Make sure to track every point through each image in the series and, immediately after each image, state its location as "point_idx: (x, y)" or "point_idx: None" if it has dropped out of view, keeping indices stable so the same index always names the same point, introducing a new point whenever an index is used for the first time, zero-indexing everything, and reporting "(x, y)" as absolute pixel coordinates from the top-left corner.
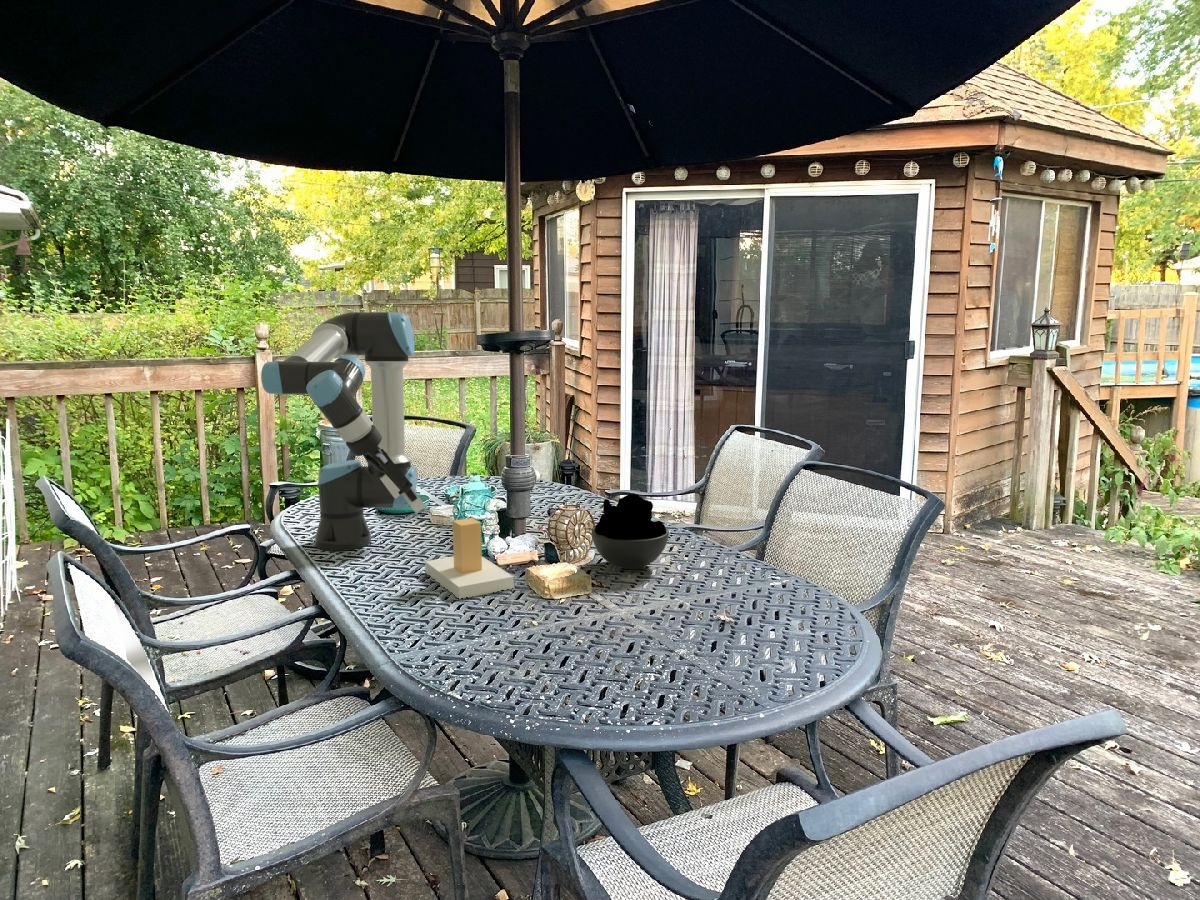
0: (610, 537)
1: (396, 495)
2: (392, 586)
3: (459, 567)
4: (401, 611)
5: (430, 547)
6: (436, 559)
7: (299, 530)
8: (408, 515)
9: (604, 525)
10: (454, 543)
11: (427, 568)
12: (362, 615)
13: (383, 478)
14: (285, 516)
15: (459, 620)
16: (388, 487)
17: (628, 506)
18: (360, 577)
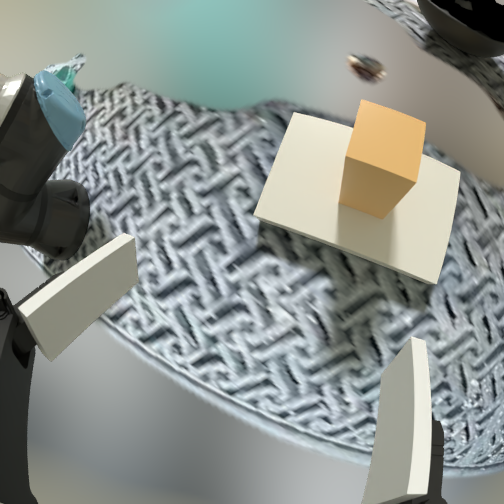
0: (497, 40)
1: (131, 276)
2: (270, 318)
3: (371, 212)
4: None
5: (164, 132)
6: (263, 190)
7: None
8: None
9: (485, 21)
10: (350, 186)
11: (268, 221)
12: (339, 435)
13: (51, 349)
14: None
15: (479, 347)
16: (92, 317)
17: None
18: (184, 317)
